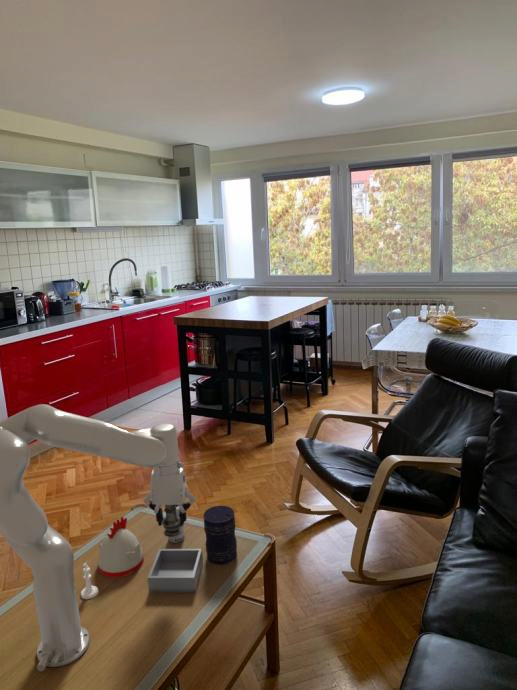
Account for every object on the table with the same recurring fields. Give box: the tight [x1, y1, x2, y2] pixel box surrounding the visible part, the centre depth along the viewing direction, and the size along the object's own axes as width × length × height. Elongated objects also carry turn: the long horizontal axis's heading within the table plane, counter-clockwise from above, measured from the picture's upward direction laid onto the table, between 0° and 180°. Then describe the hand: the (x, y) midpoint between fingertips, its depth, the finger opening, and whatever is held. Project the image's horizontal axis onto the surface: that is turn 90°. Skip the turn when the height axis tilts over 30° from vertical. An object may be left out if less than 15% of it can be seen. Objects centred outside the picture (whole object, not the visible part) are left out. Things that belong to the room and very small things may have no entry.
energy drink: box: [167, 505, 185, 544], centre depth 176 cm, size 5×5×12 cm
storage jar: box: [203, 505, 238, 566], centre depth 165 cm, size 10×10×15 cm
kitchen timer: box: [97, 516, 145, 578], centre depth 164 cm, size 14×14×15 cm
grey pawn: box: [161, 505, 182, 537], centre depth 152 cm, size 6×6×12 cm
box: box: [147, 548, 204, 594], centre depth 157 cm, size 14×14×5 cm
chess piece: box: [80, 562, 99, 600], centre depth 151 cm, size 5×5×10 cm
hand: (171, 522), depth 153 cm, fingers closed on grey pawn, 5 cm apart
